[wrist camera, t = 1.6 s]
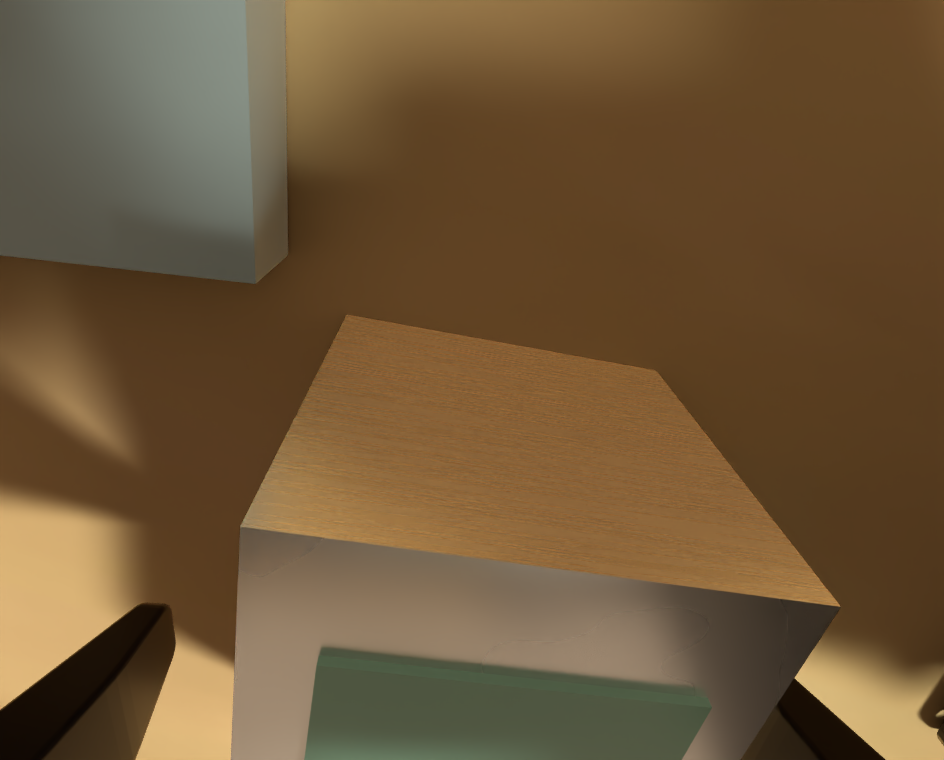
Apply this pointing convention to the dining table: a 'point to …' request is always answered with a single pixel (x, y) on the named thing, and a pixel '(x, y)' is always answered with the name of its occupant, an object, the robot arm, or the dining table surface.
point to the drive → (507, 567)
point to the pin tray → (145, 135)
